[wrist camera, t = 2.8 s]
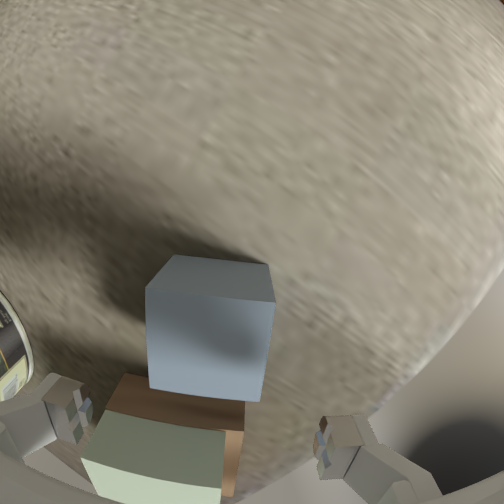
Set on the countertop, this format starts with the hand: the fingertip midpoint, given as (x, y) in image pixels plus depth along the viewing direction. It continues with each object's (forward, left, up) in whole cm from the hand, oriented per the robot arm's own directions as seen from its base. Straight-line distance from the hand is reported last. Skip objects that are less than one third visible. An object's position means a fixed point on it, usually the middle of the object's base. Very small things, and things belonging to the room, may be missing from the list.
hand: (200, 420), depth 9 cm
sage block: (+9, -3, -5) cm, 10 cm away
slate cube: (-1, 0, -8) cm, 8 cm away
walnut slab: (+9, -2, -9) cm, 13 cm away
